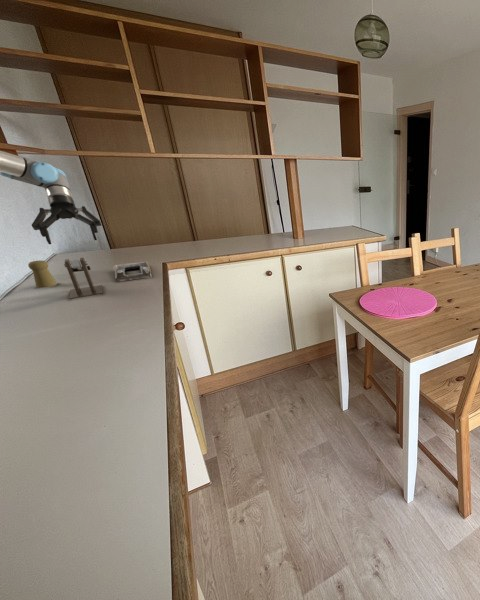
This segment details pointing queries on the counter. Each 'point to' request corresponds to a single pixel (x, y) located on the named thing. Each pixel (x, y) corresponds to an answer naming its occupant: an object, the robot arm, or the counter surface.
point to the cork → (41, 274)
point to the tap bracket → (78, 291)
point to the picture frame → (132, 266)
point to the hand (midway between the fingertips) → (72, 240)
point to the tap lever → (77, 266)
